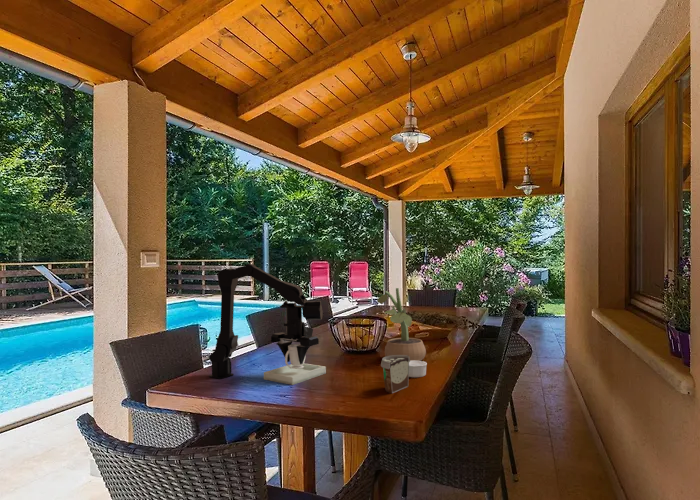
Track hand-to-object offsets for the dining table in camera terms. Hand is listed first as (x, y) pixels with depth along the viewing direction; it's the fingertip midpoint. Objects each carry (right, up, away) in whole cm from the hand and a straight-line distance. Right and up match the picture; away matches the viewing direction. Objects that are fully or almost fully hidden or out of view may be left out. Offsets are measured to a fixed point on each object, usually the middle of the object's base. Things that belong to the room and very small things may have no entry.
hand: (294, 362), depth 173 cm
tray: (0, -5, 0) cm, 5 cm away
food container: (+34, -4, -18) cm, 39 cm away
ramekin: (+43, -4, -2) cm, 44 cm away
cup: (0, -2, 0) cm, 2 cm away
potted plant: (+41, -4, +21) cm, 46 cm away
